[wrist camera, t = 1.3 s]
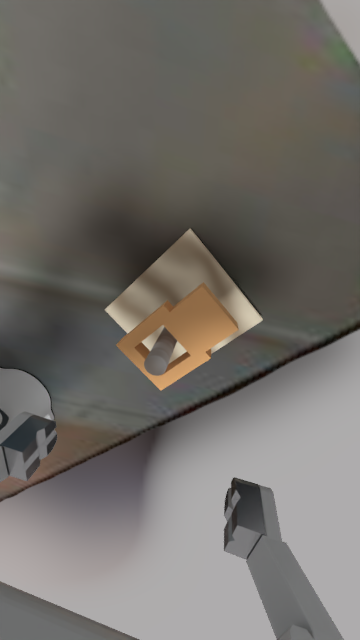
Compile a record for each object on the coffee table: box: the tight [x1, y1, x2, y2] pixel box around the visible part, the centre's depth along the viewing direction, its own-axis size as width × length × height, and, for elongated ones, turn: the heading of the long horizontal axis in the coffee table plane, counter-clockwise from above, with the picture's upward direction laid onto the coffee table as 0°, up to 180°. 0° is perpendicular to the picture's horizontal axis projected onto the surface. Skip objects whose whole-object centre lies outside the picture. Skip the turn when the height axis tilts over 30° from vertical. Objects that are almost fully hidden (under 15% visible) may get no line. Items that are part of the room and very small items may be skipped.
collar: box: [116, 282, 239, 390], centre depth 26 cm, size 12×8×2 cm, turn 132°
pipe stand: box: [105, 229, 263, 376], centre depth 31 cm, size 20×18×17 cm
